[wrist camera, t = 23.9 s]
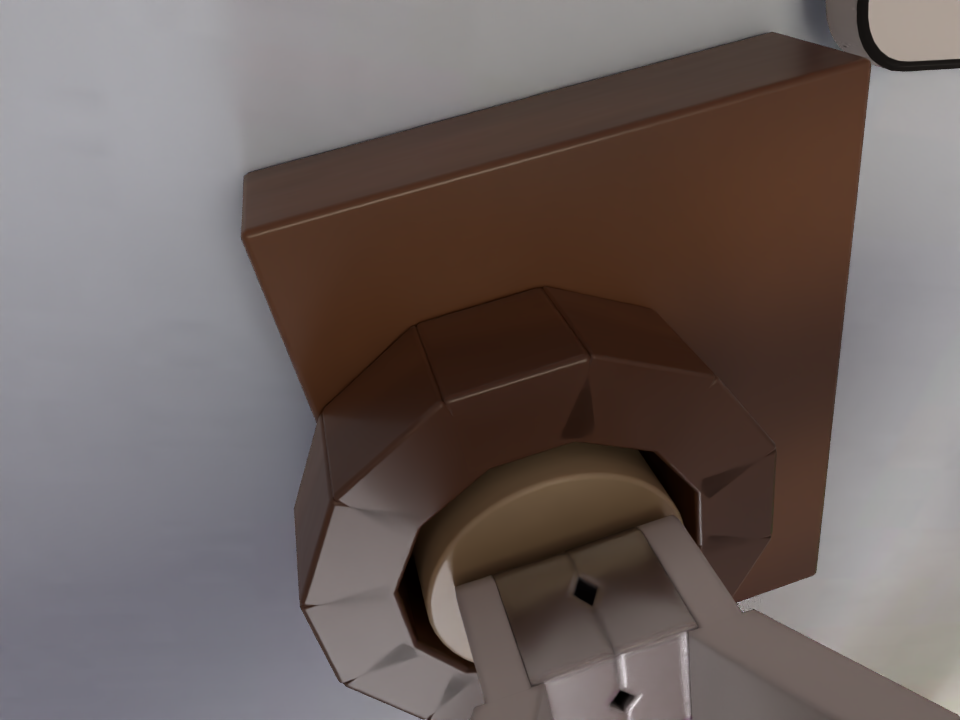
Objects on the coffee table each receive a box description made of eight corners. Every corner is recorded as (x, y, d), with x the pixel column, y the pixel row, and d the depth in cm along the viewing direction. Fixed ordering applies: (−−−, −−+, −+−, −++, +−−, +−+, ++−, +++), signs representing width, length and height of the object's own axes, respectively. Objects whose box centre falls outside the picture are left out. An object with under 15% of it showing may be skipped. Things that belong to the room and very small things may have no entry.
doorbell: (757, 501, 17) (880, 652, 13) (379, 629, 16) (411, 824, 12) (774, 29, 11) (993, 88, 8) (186, 187, 10) (152, 330, 7)
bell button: (640, 535, 12) (690, 619, 11) (434, 605, 12) (458, 702, 11) (624, 363, 10) (683, 438, 9) (376, 440, 10) (396, 532, 9)
